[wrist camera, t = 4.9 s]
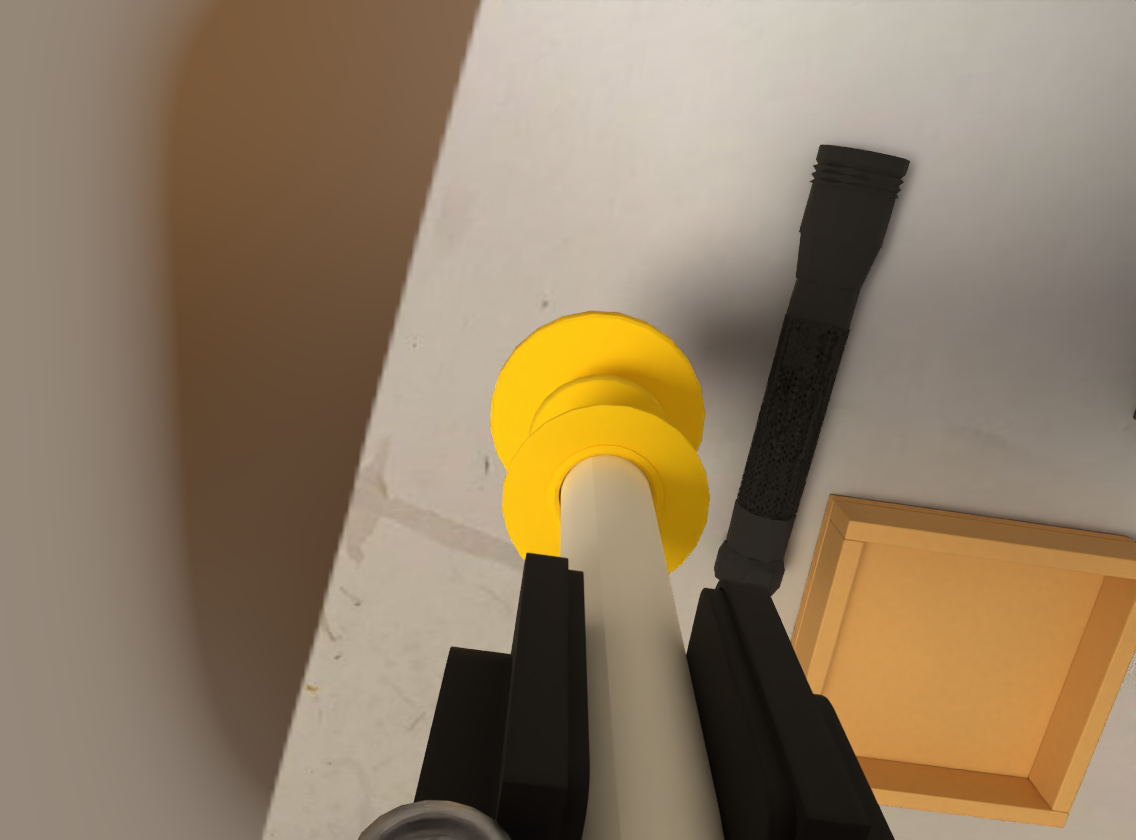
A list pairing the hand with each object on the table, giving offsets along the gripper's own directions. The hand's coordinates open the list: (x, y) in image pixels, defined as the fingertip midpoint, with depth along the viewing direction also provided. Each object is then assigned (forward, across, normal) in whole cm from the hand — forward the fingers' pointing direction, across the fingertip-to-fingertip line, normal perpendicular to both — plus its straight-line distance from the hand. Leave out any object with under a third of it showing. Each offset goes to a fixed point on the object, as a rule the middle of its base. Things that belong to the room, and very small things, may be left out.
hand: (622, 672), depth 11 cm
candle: (+11, 0, 0) cm, 11 cm away
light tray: (+22, -17, +12) cm, 30 cm away
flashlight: (+22, -8, +1) cm, 24 cm away
